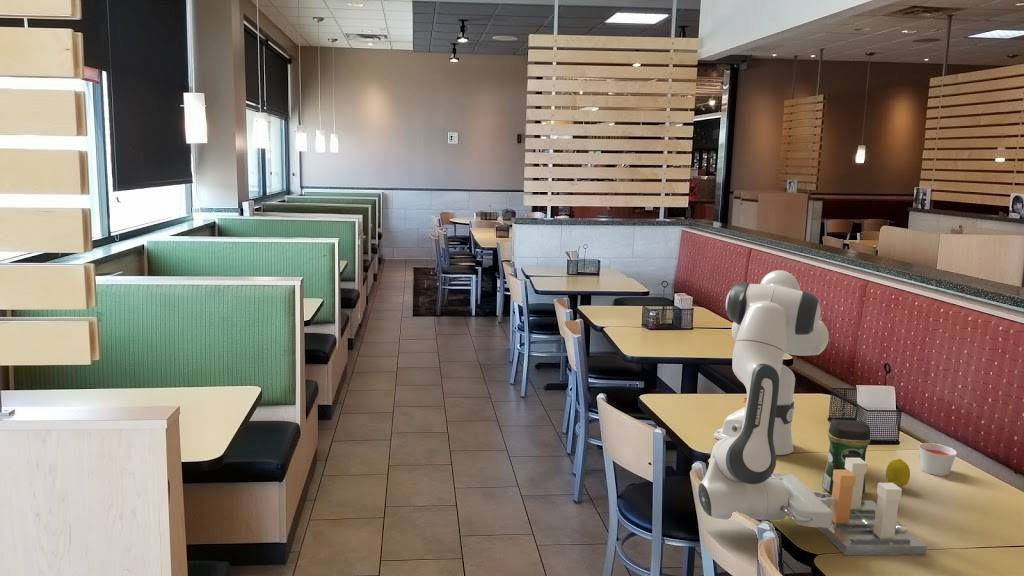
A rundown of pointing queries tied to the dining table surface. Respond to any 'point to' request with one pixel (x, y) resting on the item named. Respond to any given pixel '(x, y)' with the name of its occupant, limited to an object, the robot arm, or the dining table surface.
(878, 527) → the cream knob right
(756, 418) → the robot arm
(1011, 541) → the dining table surface
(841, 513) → the tan tall block
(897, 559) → the dining table surface
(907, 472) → the lemon
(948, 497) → the dining table surface
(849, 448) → the coffee jar
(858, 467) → the cream knob left
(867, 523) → the console
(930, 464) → the white ramekin
